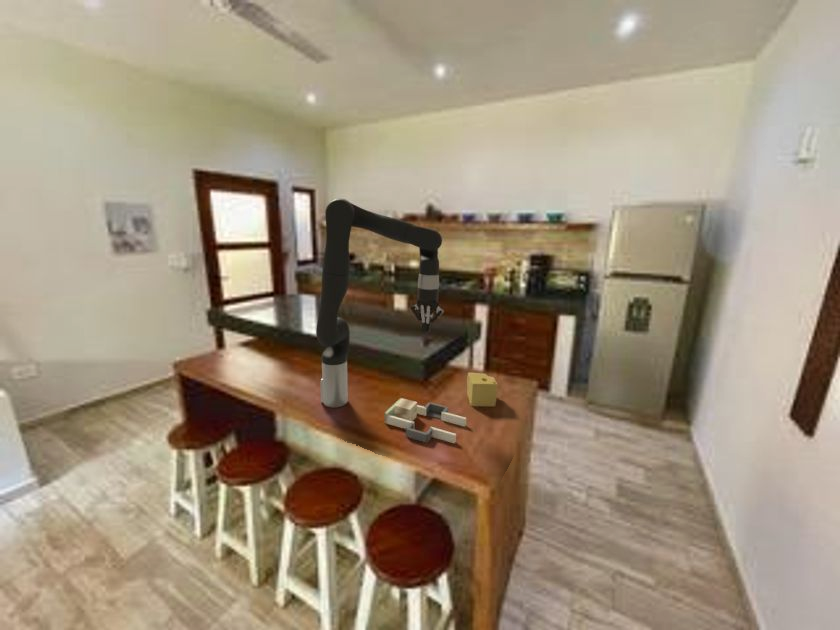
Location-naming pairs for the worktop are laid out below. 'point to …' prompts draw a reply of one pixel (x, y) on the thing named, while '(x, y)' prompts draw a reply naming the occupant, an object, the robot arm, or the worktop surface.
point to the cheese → (481, 389)
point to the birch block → (406, 409)
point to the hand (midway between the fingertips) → (426, 332)
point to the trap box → (435, 412)
